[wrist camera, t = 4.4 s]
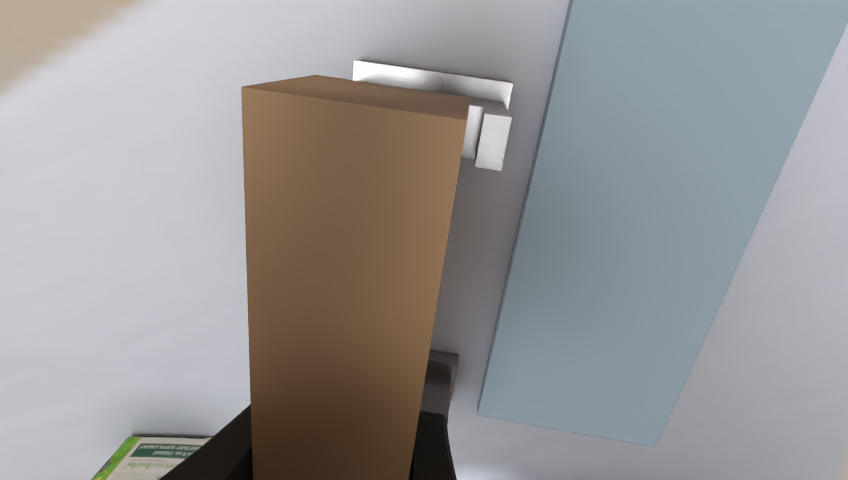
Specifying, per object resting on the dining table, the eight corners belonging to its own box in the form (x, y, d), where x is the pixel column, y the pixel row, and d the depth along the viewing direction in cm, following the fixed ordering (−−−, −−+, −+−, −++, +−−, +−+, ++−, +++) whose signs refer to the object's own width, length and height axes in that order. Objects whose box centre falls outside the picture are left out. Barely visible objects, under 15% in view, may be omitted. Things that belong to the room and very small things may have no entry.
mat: (843, 3, 15) (857, 1, 15) (651, 437, 23) (655, 447, 23) (578, -32, 16) (581, -36, 15) (477, 406, 24) (477, 415, 23)
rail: (470, 97, 9) (467, 119, 6) (388, 601, 15) (368, 725, 12) (315, 74, 9) (241, 87, 6) (299, 582, 15) (259, 702, 12)
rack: (511, 82, 18) (524, 93, 13) (448, 401, 24) (442, 485, 19) (359, 59, 18) (317, 63, 13) (337, 381, 24) (304, 459, 20)
